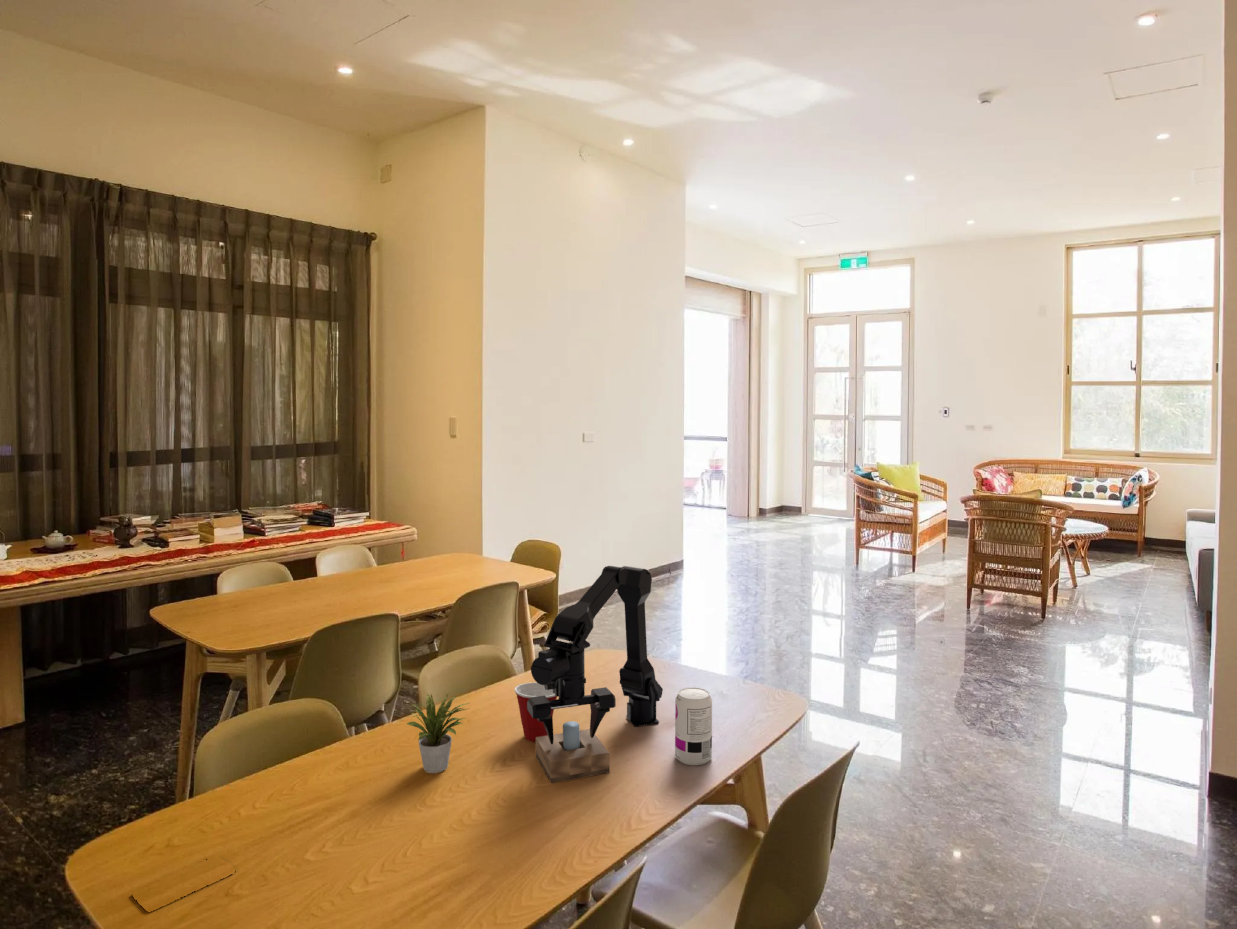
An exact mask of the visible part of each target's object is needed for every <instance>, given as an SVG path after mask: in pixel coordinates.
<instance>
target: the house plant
mask: <svg viewBox="0 0 1237 929" xmlns="http://www.w3.org/2000/svg"><path fill="white" fill-rule="evenodd" d="M457 696H458V695H457V694H456V695H454V696H452V697H451V698H450V699H448V697H449V693H447V695H446V696H445V697H444V698H443V700H442V701H441V703H440V704H439V707H438V708H437V711H436V704H435V702H434V697H433V695H432V694H429V693H426V699H425V700H426V707H425V706H423V708H424V709H425V710H426V715H425V713H424V712H423V711H422V709H421V708H420V707H419V706H417V705H416V704H414V703H413V704H412V703H411V705H412V707H413V708H415V711H416V712H417V714H415V713H413V712H412V713H411V714H412V715H413V718H415V717H416V718H417V719H418V721H420V722H421V723H422V724H423V725H421V724H419V723H418V722H416V721H409V722H407V723H406V726H407V725H408V726H412V727H414V728H418V729H419V730H421V731H419V733H418V748H419V751H420V757H421V761H422V762H421V763H422V767H423V770H425V771H426V772H425V771H424V772H425V773H428V774H438V773H437V772H439V773H442V772H444V771H446V770H447V769H448V768H449V762H450V754H451V747H452V736H451V735H450V734H448V732H450V733H453V734H454V735H455V736H457V732H456V729H455V728H453V727H455V726H459V725H464V722H461V721H462V720H465V719H466V717H462V718H458V717H452V715H454V714H456V713H458V712H461V711H467V710H470V708H464V707H462V706H466V705H468V704H470V702H468V703H462V704H460V705H459V704H458V705H457V706H455V707H454V708H452V709H451V710H450V708H451V707H452V704H453V702H454V700H455V699H456V697H457ZM447 699H448V701H447ZM419 716H420V717H421V718H419ZM451 717H452V718H451ZM452 721H453V722H452ZM450 722H451V723H450ZM447 767H448V768H447ZM445 769H446V770H445ZM443 770H444V771H443ZM441 771H442V772H441Z"/></svg>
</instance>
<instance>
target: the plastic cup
mask: <svg viewBox="0 0 1237 929" xmlns="http://www.w3.org/2000/svg"><path fill="white" fill-rule="evenodd" d="M514 693H515V695H516V699H517V703H518V709H519V714H520V722H521V726H522V730H523V736H524V739H525V740H527V741H528V742H532V743H536V737H540V736H547V732H546V729H545V726H544V724H543V722H540V721H538V719H534V718H532V716H531V714H530V713H529V711H528V710H527V702H528V700H529V698H530V697H537V696H546V698H547V699H548V700H556V699H557V698H558V697H556V696H555V693H553V689H551V690H545V687H544V685H540V684H538V683H537V682H536V681H534V682H525V683H522V684H518V685H516V686H514ZM554 710H555V709H552V710H551V714H550V715H551V717H552V718H554V717H553V716H554Z"/></svg>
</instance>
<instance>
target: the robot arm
mask: <svg viewBox="0 0 1237 929" xmlns="http://www.w3.org/2000/svg"><path fill="white" fill-rule="evenodd" d="M652 581H653V580H652V574H651V572H649V570H648V569H646V568H641V567H636V566H628V565H627V566H626V565H622V566H614V565H607V566H604V567H603V569H602V572H601V574H600V575H599V576H598V577H597V579H596V580H595V581H594V582H593V583H592V585H591V586H590V587H589V589H587V591H586V592H585V593H584V594H583V596H582V597H580V599H579V600H578V601H577V602H576V603H574V604H572V605H569V606H567V607H565V608H564V609H563V610H562V611H561V612H559V613H558V614H557V616H556V617H555V618H554V620H553V623H552V625H551V628H550V630H549V632H548V635H547V638H546V640H545V642H544V645H543V646H544V647H545V648H547V649H544V650H540V651H538V653H537V656H538V657H536V658H534V660H533V661H532V663H531V665H530V673H531V675H532V676H531V677H532V678H533V679H534V682H536V683H538V684H540V685H544V687H545V690H551V689H553V693H555V696H556V697H557V698H558V699H556V700H548V699H547V698H546V696H537V697H530V698H529V700H528V702H527V710H528V711H529V713H530V714H531V716H532V718H534V719H538V721H540V722H543V724H544V726H545V729H546V732H547V735H548V738H549V741H550V743H551V744H553V740H554V736H553V734H554V722H553V720H554V717H551V715H550V714H551V710H552V709H554V710H557V709H566V708H572V707H579V706H586V705H589V706H590V720H589V722H590V723H589V729H590V737H591V738H593V737H594V735H596V732H597V731H598V728H599V726H600V724H601V722H602V721H603V719H604V717H605V716H606V714H607V713H609V712H610V710H611V709H614V708H615V707H616V696H615V694H613V692H612V691H611V690H610V689H608V688H607V687H606V686H605V687H598V688H592V689H591V691H590V694H588V695H587V694H586V695H585V693H586V692H585V687H586V686H585V684H586V683H587V679H586V677H585V676H586V675H585V649H587V648H590V647H591V643H590V642H589V641H588V640H587V639H588V638H589V636H590V634H591V632H592V630H593V629H594V620H595V618H596V616H597V614H598V613H599V612H600V610H602V608H603V607H604V606H605V604H606V603H607V602H608V601H609V600H610V598H611V597H612V595H614V593H615V592H616V591H617V594H618V596H619V598H620V599H621V601H622V603H623V605H624V619H625V620H624V622H625V623H624V624H625V642H626V646H625V647H626V661H625V663H624V665H623V666H622V667H620V669H619V671H618V672H619V685H620V686H621V690H622V694H623V695H622V696H624V697H628V702H627V703H626V719H627V720H628V721H629V722H630V724H632V725H633V727H635V728H636V727H645V726H650V725H656V724H657V725H658V724H659V723H660V720H658V719H657V702H659V701H661V700H660V699H661V698H662V696H663V687H662V685H660V684H659V682H658V681H657V680H656V674H655V669H654V666H653V665H652V663H651V662H650V660H649V659H648V648H647V647H648V646H647V629H646V628H647V627H646V626H647V624H646V623H647V622H646V601H647V599H648V597H649V596H650V594H651V591H652ZM557 639H559V640H557ZM561 640H563V641H561ZM566 641H567V642H566Z"/></svg>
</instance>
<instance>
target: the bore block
mask: <svg viewBox="0 0 1237 929" xmlns="http://www.w3.org/2000/svg"><path fill="white" fill-rule="evenodd" d="M579 735H580V749H573V750H567V751H564V749H563V732H561V733H553V736H554V740H553V744H551V743H550V741H549V738H548V735H547V736H540V737H536V742H535V757H536V759H537V761H538V763H539V764H540V766H541V768H542V770H543V771H544V774H545V775H546V776H547V778H548V780H549V781H550V783H551V784H554V783H559V782H564V781H570V780H575V779H583V778H586V777H587V778H588V777H593V776H599V775H605V774H610V752H609V750H608V749H607V748H606V746H605V744H603V742H602V741H601V740H600V739H599V738H598V736H597V735H596V734H595V735H594V737H593V738H591V737H590V728H588V729H581V730H580V729H579Z"/></svg>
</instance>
